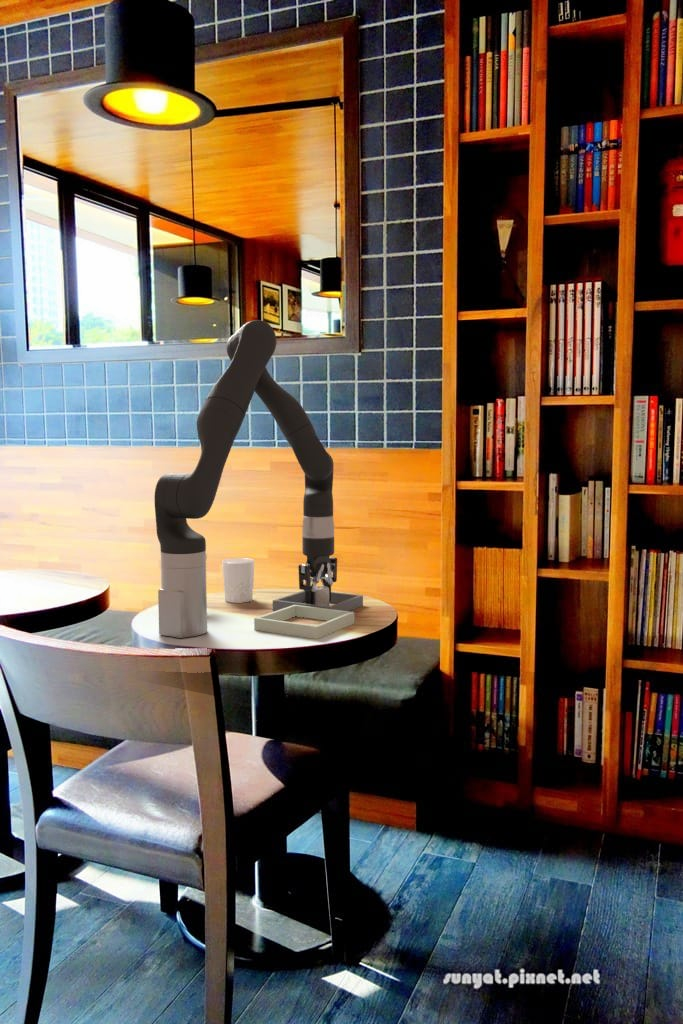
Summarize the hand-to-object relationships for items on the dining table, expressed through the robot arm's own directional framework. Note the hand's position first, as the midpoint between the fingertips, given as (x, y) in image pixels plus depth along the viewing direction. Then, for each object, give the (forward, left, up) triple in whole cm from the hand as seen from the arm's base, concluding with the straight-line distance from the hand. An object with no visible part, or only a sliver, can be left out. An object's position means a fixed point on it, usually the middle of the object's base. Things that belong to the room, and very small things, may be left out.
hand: (318, 603), depth 195 cm
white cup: (-2, +22, -1) cm, 22 cm away
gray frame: (0, 0, -1) cm, 1 cm away
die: (0, 0, -1) cm, 1 cm away
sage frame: (-17, -7, -1) cm, 18 cm away
